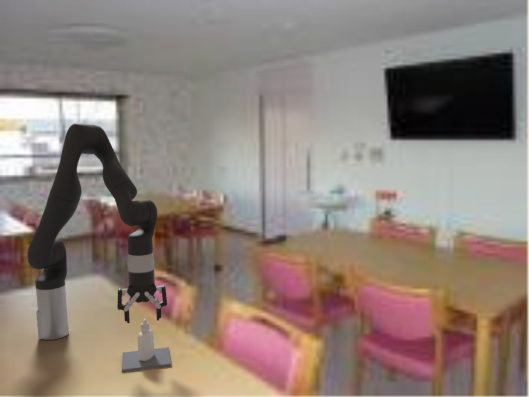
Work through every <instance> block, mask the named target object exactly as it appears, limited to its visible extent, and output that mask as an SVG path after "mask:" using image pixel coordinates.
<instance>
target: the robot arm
mask: <svg viewBox="0 0 529 397" xmlns="http://www.w3.org/2000/svg"><path fill="white" fill-rule="evenodd" d="M61 149H62V150H61V154H60V159H59V163H58V167H57V169H56V174H55V178H54V180H53V183H52V186H51V187H50V191H49V193H48V197H47V201H46V205H45V207H44V210H43V212H42V214H41V215H42V216H41V218H40V221H39V224H38V226H37V229H36V231H35V232H34V235H33V237H32V239H31V242H30V244H29V246H28V249H27V256H26V257H27V262H28V264H29V266H30V267H31V268H33V269H35V270H42V272H41V273H40V274H39V275H38V276H37V278H36V279H35V281H34V282H35V285H34V286H35V295H36V308H37V310H36V313H35V314H36V324H37V325H36V326H37V335H38V336H37V337H38V338H37V339H38V340H45V341H53V340H58V339H61V338H64V337H66V336H68V335H69V333H70V330H69V317H68V316H69V315H68V304H67V292H66V278H67V275H68V267H67V266H68V265H67V264H68V261H67V260H68V259H67V248H66V245H65V244H64V242H63V241H62V239H60V238H59V237H58V235H59V234H60V232H61V231H62V230H63V229H64V227H65V226H66V224H67V223H68V222H70V220H71V218H72V217H73V216H74V215H75V213H76V211H77V208H78V205H79V204H80V203H79V202H80V200H81V196H82V184H81V181H80V179H79V178H80V177H79V175H78V166H79V162H80V159H81V157H82V154H83V155H84V154H85V155H94V156H95V157H96V158H97V159H99V162H100V163H101V165H102V182H103V183H104V185H105V188H106V189H107V190H108V192H109V193H110V195H111V196H112V197H113V199H114V201H115V204H116V208H117V211H118V215H119V218H120V220H121V221H122V223H123V224H125V225H126V226H129V227H136V226H138V227H137V229H136V230H135V231H134V232H131V233H130V234H129V235H128V236H127V281H128V282H127V283H128V287H127V288H122V287H118V289H117V310H118V311H123V313H124V317H123V318H124V322H126V323H127V324H130V322H131V319H130V309H131V307H132V306H133V305H134V303H149V301H150V302H151V303H152V304H153V305H154V306H155V310H156V312H155V313H156V321H157V322H159V321H160V319H161V318H162V308H163V307H167V306H168V298H167V289H166V285H165V284H161V285H157V286H156V282H155V281H156V279H155V259H154V252H153V250H154V248H153V246H154V244H153V237H154V233H155V229H156V225H157V220H158V209H157V206H156V204H155V203H154V201H153V200H151V199H148V198H146V199H139V200H134V199H135V198H136V197H137V194H138V190H137V186H136V185H135V183H134V182H133V181H132V179H131V178H130V177H129V175H128V174H127V173H126V172H125V170H124V168H123V166H122V164H121V162H120V161H119V159H118V156H117V154H116V152H115V149H114V147H113V145H112V144H111V141H110V139H109V137H108V135H107V132H106V131H105V130H104V129H103V128H102V127H101V126H100V125H98V124H92V123H91V124H90V123H89V124H88V123H81V122H75V123H72V124H71V125H70V126H69V127H68V129H67V131H66V133H65V136H64V140H63V145H62V148H61ZM156 292H158V293H159V294H161V298H162V300H161V301H159V299H157V297H156V296H155V294H156ZM126 294H128V295H129V298H128V300H127V301H126V303H125V304H123V297H124V296H126Z"/></svg>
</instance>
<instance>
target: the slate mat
mask: <svg viewBox="0 0 529 397" xmlns="http://www.w3.org/2000/svg"><path fill="white" fill-rule="evenodd" d="M170 355H171V354H170V347H159V348H154V356H153V357H152V358H151V359H149V360H147V361H140V360H139V355H138V350H132V351H125V352H122V355H121V356H122V357H121V358H122V359H121V373H126V371H128V372H134V371H135V370H136V371H144V370H151V369H152V368H153V369H160V367H161V368H168V367H169V368H170V367H172V360H171V356H170ZM143 369H144V370H143Z"/></svg>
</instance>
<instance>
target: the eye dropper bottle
mask: <svg viewBox="0 0 529 397" xmlns="http://www.w3.org/2000/svg"><path fill="white" fill-rule="evenodd" d="M142 320H143V321H142V322H141V323H140V332H139V333H138V336H137V351H138V355H139V360H140V361H147V360H149V359H151V358H152V357H153V356H154V349H155V342H154V331H153V330H152V329H150V323H149V322H147V319H146V318H144V319H142Z"/></svg>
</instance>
